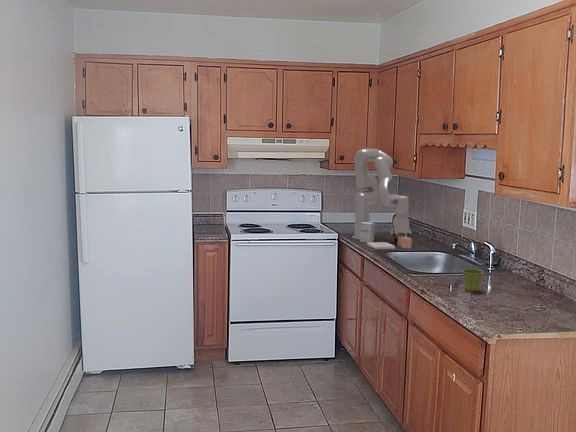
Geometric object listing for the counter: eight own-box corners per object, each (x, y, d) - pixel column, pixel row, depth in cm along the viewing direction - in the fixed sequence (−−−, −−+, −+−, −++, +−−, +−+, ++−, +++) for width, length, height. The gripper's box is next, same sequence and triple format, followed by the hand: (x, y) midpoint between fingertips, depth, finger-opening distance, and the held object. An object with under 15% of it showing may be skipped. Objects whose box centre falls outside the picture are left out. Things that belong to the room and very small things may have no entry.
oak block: (394, 244, 392) (395, 235, 391) (402, 244, 393) (402, 234, 393) (397, 245, 387) (398, 236, 387) (405, 245, 389) (405, 236, 388)
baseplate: (367, 244, 387) (367, 242, 387) (386, 244, 390) (386, 242, 390) (375, 248, 374) (375, 246, 374) (395, 248, 377) (395, 246, 377)
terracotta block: (400, 247, 384) (401, 237, 383) (408, 246, 385) (408, 237, 384) (403, 248, 379) (404, 238, 378) (411, 248, 380) (411, 238, 379)
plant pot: (479, 293, 272) (480, 274, 271) (458, 290, 277) (459, 271, 276) (484, 289, 280) (486, 270, 278) (464, 286, 285) (465, 268, 283)
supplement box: (359, 242, 397) (360, 222, 396) (363, 240, 404) (364, 221, 402) (370, 243, 394) (371, 223, 392) (374, 241, 400) (375, 222, 399)
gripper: (411, 214, 394) (410, 242, 396) (386, 214, 390) (385, 242, 392) (416, 216, 386) (415, 244, 389) (391, 216, 382) (389, 244, 385)
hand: (400, 243), depth 390 cm, fingers closed on oak block, 5 cm apart
